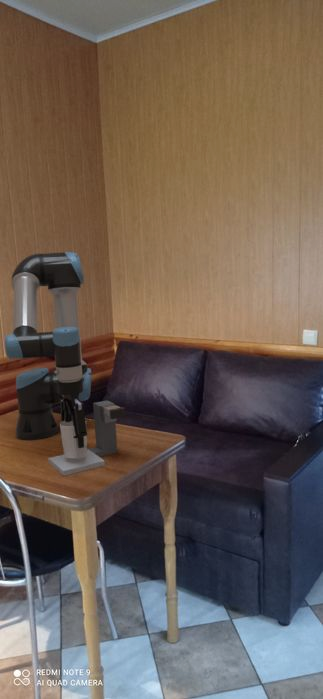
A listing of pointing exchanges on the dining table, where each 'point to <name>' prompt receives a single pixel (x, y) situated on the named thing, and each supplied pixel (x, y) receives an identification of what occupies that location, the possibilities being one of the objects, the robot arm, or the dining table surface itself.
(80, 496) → the dining table surface
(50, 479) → the dining table surface
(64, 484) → the dining table surface
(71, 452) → the white cup
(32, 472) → the dining table surface
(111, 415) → the handle
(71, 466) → the frame
